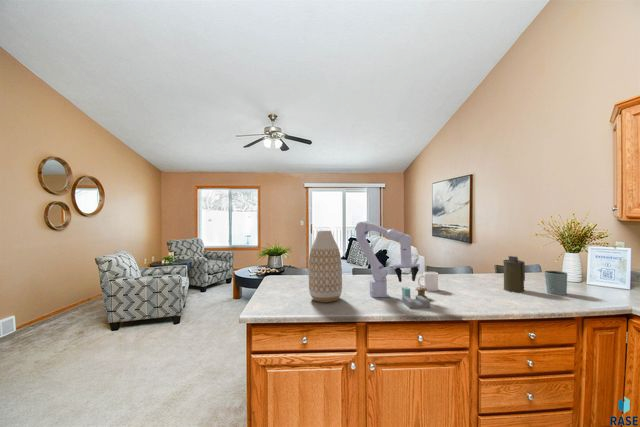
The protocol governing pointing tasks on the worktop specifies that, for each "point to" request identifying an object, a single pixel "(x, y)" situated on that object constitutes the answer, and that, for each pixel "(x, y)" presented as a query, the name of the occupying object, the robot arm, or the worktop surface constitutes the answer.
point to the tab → (406, 291)
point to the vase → (325, 268)
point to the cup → (429, 281)
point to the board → (416, 302)
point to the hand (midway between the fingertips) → (406, 281)
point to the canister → (514, 275)
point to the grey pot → (556, 282)
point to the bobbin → (421, 291)
